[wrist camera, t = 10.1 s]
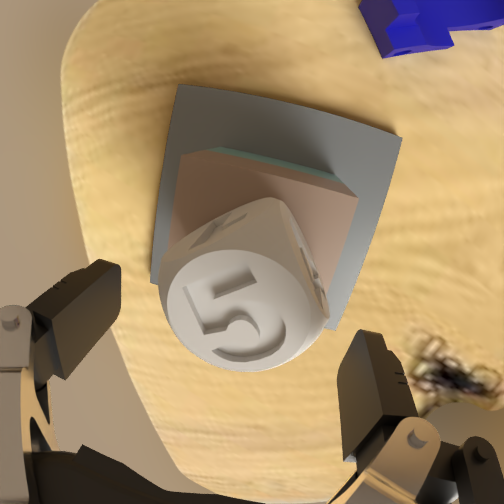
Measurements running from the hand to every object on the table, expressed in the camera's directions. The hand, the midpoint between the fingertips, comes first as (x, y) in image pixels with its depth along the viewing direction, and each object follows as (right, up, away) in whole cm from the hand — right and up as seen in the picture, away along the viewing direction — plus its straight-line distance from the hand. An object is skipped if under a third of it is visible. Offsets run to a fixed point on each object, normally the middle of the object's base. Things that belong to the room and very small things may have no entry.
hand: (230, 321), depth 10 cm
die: (+1, +2, +5) cm, 5 cm away
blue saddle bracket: (+15, +20, +6) cm, 25 cm away
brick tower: (+2, +5, +13) cm, 14 cm away
